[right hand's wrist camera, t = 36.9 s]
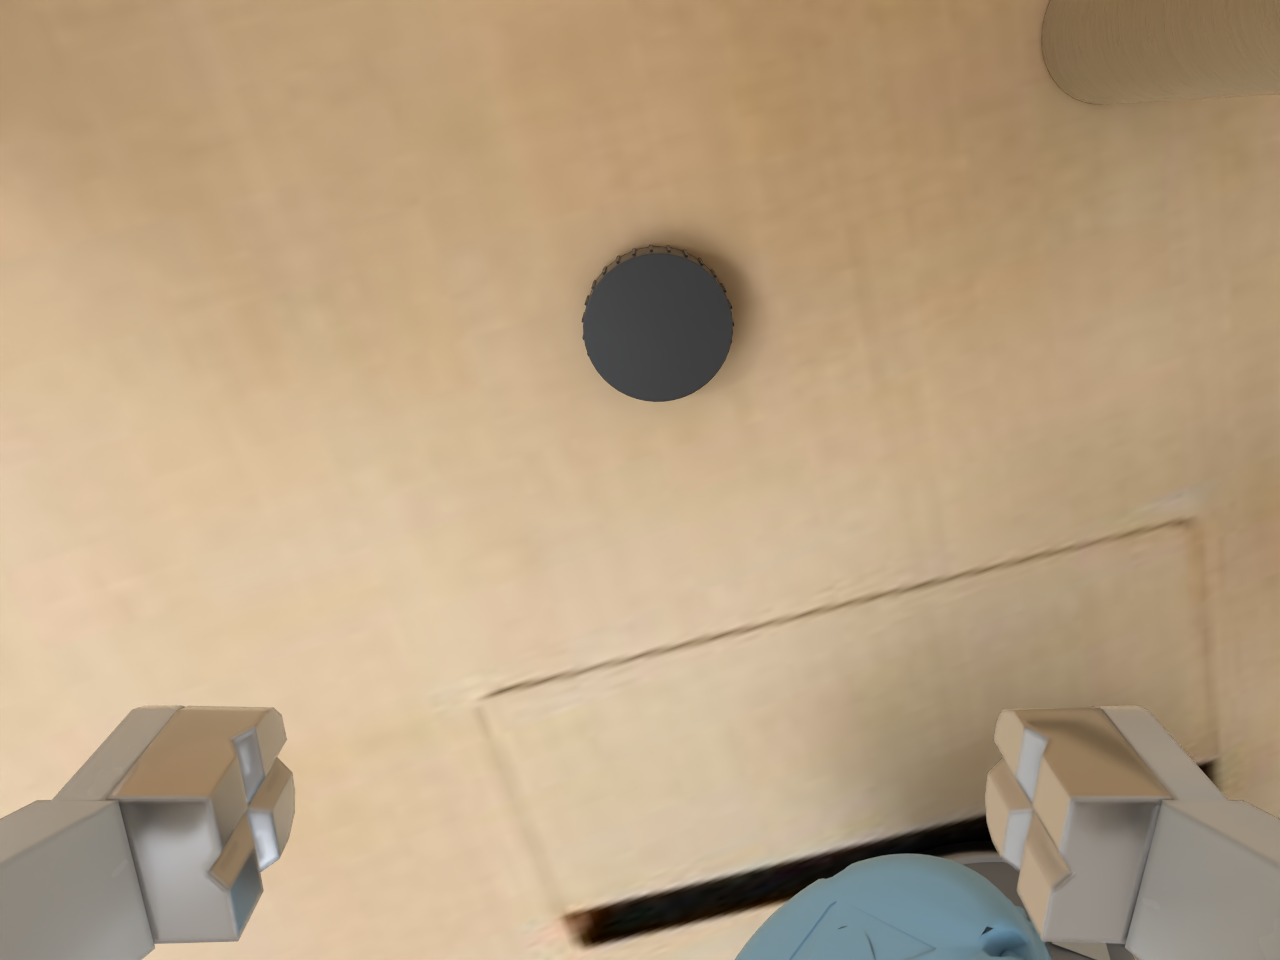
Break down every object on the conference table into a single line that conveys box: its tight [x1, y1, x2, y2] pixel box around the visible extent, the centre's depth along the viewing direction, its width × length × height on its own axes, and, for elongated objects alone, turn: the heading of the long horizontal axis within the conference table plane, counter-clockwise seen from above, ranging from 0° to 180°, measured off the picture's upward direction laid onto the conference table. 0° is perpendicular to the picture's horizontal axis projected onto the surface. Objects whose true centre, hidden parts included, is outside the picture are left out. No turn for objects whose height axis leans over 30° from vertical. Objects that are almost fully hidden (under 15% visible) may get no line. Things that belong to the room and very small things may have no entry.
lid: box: [582, 245, 734, 402], centre depth 34 cm, size 6×6×2 cm
